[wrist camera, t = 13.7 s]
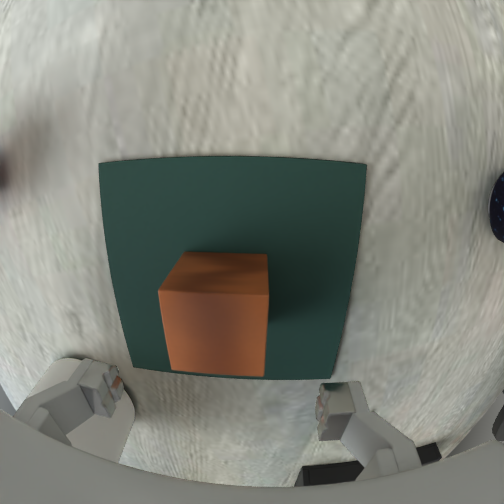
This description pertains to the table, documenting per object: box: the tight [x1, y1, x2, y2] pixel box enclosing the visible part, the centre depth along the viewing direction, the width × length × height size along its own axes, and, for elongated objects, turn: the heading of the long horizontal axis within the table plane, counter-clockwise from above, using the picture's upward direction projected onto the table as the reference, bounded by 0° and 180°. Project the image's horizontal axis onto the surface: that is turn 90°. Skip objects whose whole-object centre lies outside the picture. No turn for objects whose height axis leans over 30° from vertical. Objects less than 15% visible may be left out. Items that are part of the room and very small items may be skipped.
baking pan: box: [294, 443, 442, 487], centre depth 28 cm, size 20×16×3 cm
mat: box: [99, 156, 367, 380], centre depth 18 cm, size 16×16×1 cm
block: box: [158, 252, 269, 376], centre depth 16 cm, size 5×5×5 cm
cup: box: [27, 358, 135, 463], centre depth 18 cm, size 10×10×10 cm
